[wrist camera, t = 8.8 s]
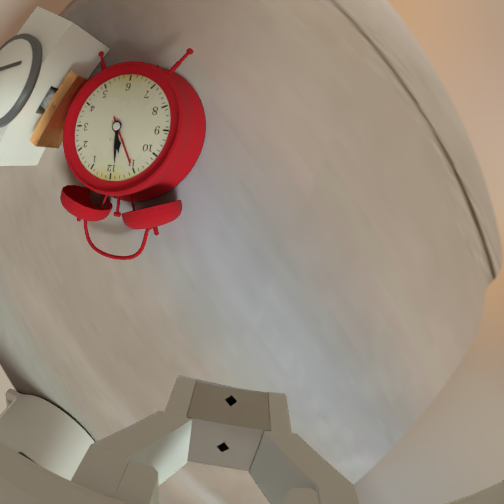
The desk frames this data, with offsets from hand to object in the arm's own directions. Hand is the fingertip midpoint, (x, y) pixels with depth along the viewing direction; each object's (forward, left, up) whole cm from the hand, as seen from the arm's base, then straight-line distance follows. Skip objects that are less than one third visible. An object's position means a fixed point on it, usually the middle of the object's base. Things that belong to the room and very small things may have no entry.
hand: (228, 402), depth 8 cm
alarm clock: (+1, +12, -15) cm, 20 cm away
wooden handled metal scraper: (+1, +22, -14) cm, 26 cm away
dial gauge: (+1, +23, -15) cm, 28 cm away
